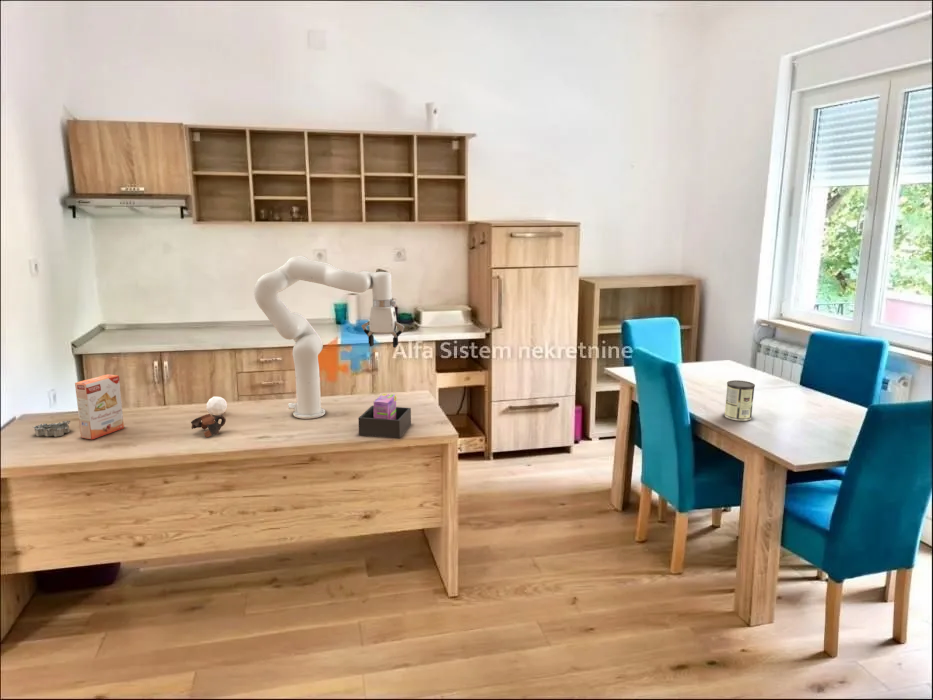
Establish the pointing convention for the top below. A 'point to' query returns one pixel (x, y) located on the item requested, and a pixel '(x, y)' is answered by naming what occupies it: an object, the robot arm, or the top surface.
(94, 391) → the cracker box
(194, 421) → the pottery mug
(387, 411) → the box
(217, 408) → the ball
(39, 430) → the egg carton
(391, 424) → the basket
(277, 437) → the top surface
